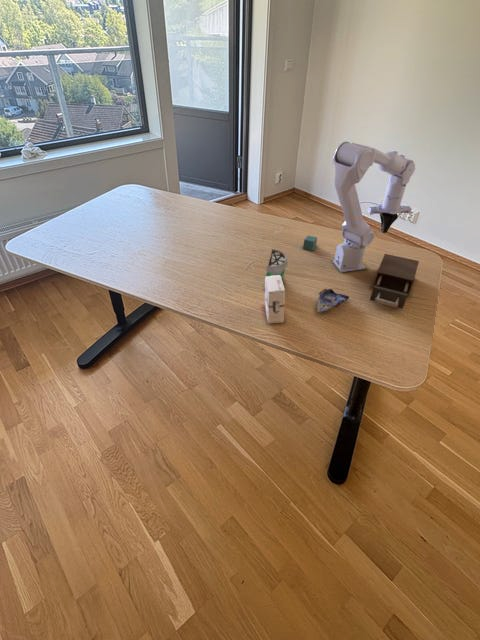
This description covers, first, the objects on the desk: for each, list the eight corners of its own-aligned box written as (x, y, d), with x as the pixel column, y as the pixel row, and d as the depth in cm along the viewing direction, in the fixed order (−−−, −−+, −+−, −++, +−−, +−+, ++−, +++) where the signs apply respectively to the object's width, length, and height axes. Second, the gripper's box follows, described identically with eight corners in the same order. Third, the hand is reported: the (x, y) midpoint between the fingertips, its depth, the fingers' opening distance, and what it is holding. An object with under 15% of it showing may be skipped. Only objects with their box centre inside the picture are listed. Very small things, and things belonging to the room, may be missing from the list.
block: (312, 250, 136) (314, 241, 134) (303, 248, 138) (304, 239, 135) (315, 246, 139) (317, 237, 136) (306, 244, 140) (307, 235, 138)
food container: (283, 294, 115) (286, 269, 108) (265, 292, 116) (266, 267, 109) (287, 274, 124) (289, 249, 117) (270, 272, 125) (271, 248, 118)
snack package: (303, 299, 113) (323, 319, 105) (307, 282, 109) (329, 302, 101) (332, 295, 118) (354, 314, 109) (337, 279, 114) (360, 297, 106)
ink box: (263, 306, 110) (264, 275, 102) (279, 305, 110) (281, 274, 103) (267, 324, 104) (269, 292, 96) (283, 323, 104) (286, 291, 96)
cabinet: (407, 297, 113) (413, 280, 108) (372, 288, 117) (377, 271, 112) (412, 277, 121) (419, 261, 117) (380, 269, 125) (384, 253, 121)
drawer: (400, 317, 104) (405, 304, 101) (366, 308, 107) (370, 295, 104) (408, 288, 115) (412, 275, 112) (377, 280, 119) (381, 268, 115)
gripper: (377, 200, 116) (367, 237, 124) (419, 199, 116) (407, 236, 125) (370, 192, 121) (361, 228, 130) (411, 191, 121) (399, 227, 130)
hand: (383, 231), depth 128 cm, fingers closed
